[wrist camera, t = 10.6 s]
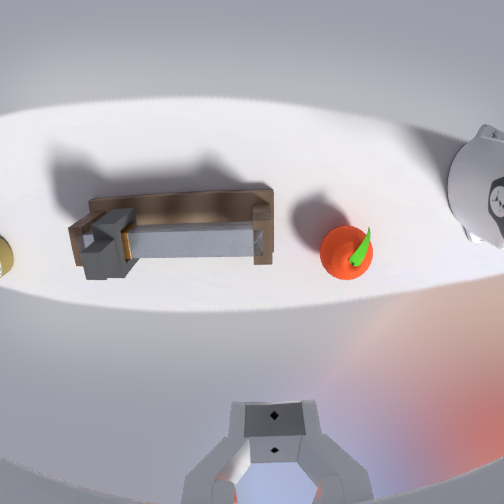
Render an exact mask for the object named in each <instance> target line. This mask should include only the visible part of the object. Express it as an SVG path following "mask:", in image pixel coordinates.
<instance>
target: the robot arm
mask: <svg viewBox="0 0 504 504" xmlns="http://www.w3.org/2000/svg"><path fill="white" fill-rule="evenodd" d="M492 134H493V137H492ZM448 199H449V204H450V207H451V210H452V212H453V214H454V216H455V217H456V219H457V220H458V221H459V222H460V223H461V224H462V225H463V226H464V228H465V230H466V233H467V236H468V239H469V241H470V242H472V243H474V244H479V243H482V242H488V243H490V244H491V245H493V246H495V247H497V248H499V249H502V250H504V133H503V132H501V131H499V130H497V129H495V128H494V127H492V126H489V125H483V126H482V127H481V128H480V130H479V131H478V133H477V135H476V137H475V138H474V139H472V140H471V141H470V142H468V143H467V144H465V145H464V146H463V147H462V148H461V149H460V151H459V152H458V153H457V155H456V157H455V158H454V160H453V163H452V165H451V168H450V172H449V177H448ZM272 462H297V463H298V464H299V466H300V467H301V468H302V469H303V471H304V472H305V473H306V474H307V475H308V477H309V478H310V479H311V480H312V481H313V482H314V484H315V485H316V486H317V487H318V490H317V492H316V495H315V498H314V501H313V503H312V504H504V456H503V457H501V458H499V459H497V460H495V461H493V462H490V463H488V464H486V465H483V466H481V467H479V468H476V469H474V470H471V471H469V472H466V473H464V474H461V475H458V476H455V477H453V478H450V479H447V480H444V481H442V482H438V483H435V484H432V485H428V486H425V487H422V488H418V489H415V490H411V491H407V492H403V493H399V494H395V495H391V496H387V497H382V498H378V499H374V497H373V493H372V488H371V484H370V480H369V476H368V472H367V470H366V469H365V468H364V467H363V466H361V465H360V464H359V463H358V462H357V461H356V460H354V459H353V458H352V457H351V456H350V455H349V454H348V453H346V452H345V451H344V450H343V449H342V448H341V447H340V446H339V445H338V444H336V443H335V442H334V441H333V440H332V439H331V438H330V437H329V436H328V435H327V434H322V432H321V427H320V421H319V416H318V410H317V405H316V401H315V400H303V401H302V400H301V401H300V400H298V401H282V402H232V403H231V410H230V422H229V436H228V437H224V438H223V439H222V440H221V441H220V442H219V443H218V444H217V445H216V446H215V447H214V448H213V449H212V451H211V452H210V453H209V454H208V455H207V456H206V457H205V458H204V459H203V460H202V461H201V462H200V463H199V464H198V465H197V466H196V467H195V468H194V469H193V470H192V471H191V472H190V473H189V474H188V475H187V476H186V477H185V483H184V488H183V494H182V501H181V504H238V502H237V497H236V490H235V485H236V484H237V482H238V481H239V480H240V478H241V477H242V476H243V474H244V473H245V472H246V470H247V469H248V467H249V466H250V465H251V463H272ZM0 504H156V503H150V502H144V501H139V500H134V499H128V498H124V497H119V496H115V495H111V494H107V493H103V492H99V491H95V490H92V489H88V488H84V487H81V486H78V485H75V484H72V483H68V482H65V481H62V480H59V479H57V478H54V477H51V476H48V475H45V474H43V473H40V472H38V471H35V470H33V469H30V468H28V467H25V466H23V465H21V464H18V463H16V462H14V461H11V460H9V459H7V458H5V457H3V456H1V455H0Z"/></svg>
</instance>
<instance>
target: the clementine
mask: <svg viewBox="0 0 504 504" xmlns="http://www.w3.org/2000/svg"><path fill="white" fill-rule="evenodd" d="M372 257H373V248H372V244H371V242H370V229H369V228H368V233H367V235H366V234H365V233H364V232H363V231H361V230H360V229H358V228H356V227H353V226H340V227H337V228H335V229H333V230H332V231H330V232H329V233H328V234H327V235H326V236H325V237H324V239H323V241H322V243H321V247H320V259H321V262H322V265H323V267H324V268H325V269H326V271H327V272H328V273H329V274H331V275H332V276H333V277H336V278H338V279H342V280H351V279H355V278H357V277H359V276H361V275H362V274H364V273H365V271H366V270H367V269H368V268H369V266H370V264H371V261H372Z"/></svg>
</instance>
